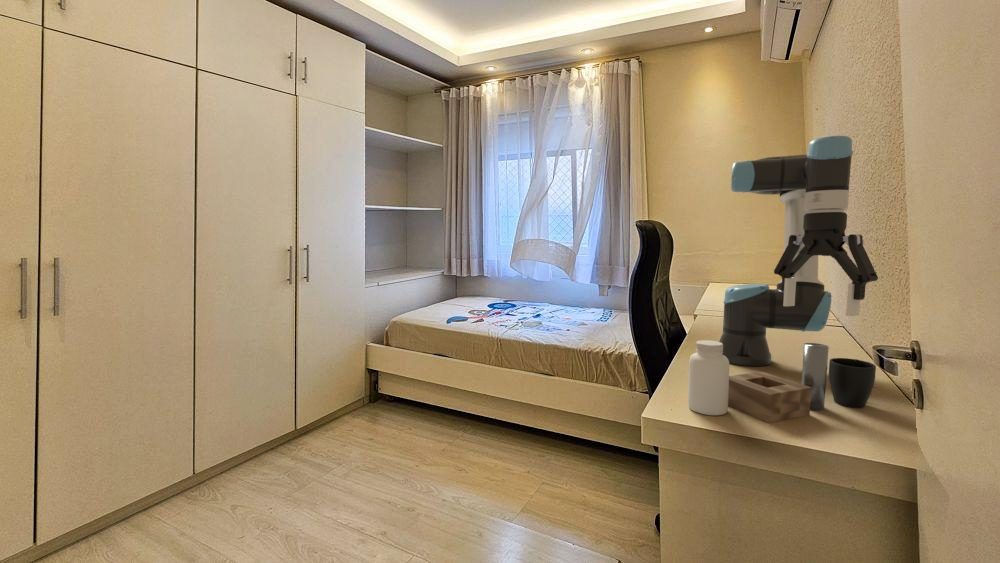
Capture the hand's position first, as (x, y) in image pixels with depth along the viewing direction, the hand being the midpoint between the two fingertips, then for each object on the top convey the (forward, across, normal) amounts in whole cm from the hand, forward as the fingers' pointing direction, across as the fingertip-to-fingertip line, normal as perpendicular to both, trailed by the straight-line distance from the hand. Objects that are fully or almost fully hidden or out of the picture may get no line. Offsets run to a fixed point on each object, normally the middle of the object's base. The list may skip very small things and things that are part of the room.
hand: (818, 310), depth 96 cm
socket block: (+22, -3, -11) cm, 25 cm away
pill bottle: (+22, -7, -23) cm, 32 cm away
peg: (+22, 0, 0) cm, 22 cm away
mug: (+22, +1, +12) cm, 25 cm away
